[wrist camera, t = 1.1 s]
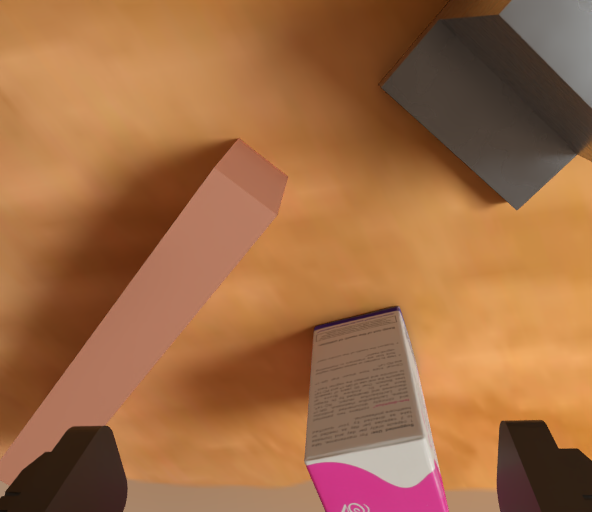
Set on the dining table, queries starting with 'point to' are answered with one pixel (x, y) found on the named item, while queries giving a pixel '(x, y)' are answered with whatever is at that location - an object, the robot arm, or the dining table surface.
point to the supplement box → (370, 419)
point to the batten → (157, 301)
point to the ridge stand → (504, 88)
